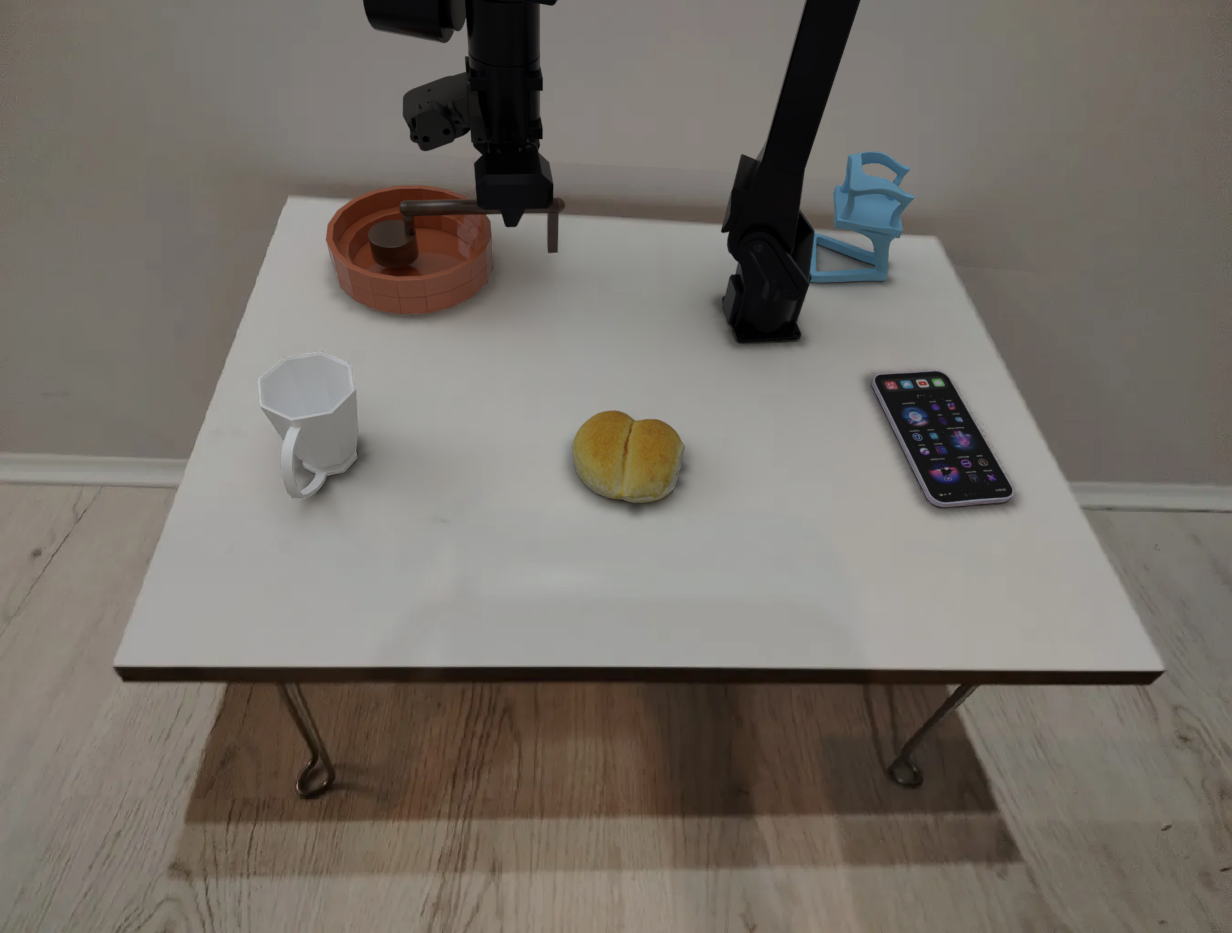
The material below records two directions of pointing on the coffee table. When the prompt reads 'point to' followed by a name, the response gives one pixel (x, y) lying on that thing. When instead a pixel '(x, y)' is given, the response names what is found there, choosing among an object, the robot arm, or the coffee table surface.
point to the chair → (865, 217)
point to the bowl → (440, 273)
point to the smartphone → (941, 439)
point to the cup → (312, 415)
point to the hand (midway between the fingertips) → (510, 221)
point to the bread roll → (627, 457)
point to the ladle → (398, 238)
